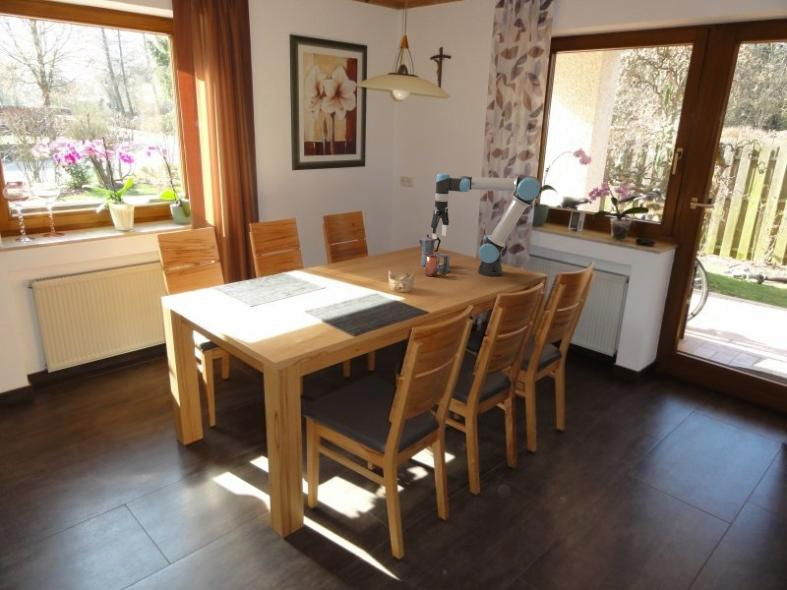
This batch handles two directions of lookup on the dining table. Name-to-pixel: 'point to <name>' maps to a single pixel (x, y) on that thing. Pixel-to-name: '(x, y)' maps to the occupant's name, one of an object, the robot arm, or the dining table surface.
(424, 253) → the moka pot
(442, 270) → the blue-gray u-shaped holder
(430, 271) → the copper container
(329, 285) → the dining table surface
